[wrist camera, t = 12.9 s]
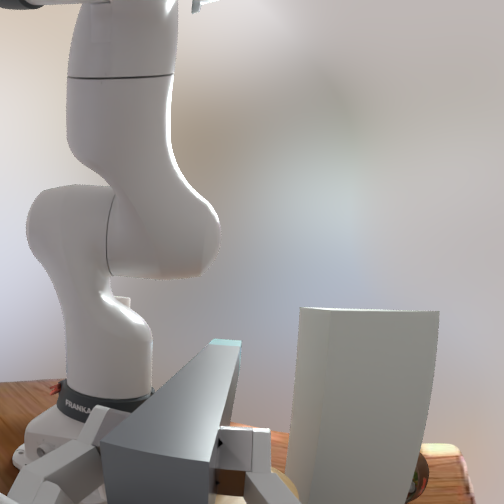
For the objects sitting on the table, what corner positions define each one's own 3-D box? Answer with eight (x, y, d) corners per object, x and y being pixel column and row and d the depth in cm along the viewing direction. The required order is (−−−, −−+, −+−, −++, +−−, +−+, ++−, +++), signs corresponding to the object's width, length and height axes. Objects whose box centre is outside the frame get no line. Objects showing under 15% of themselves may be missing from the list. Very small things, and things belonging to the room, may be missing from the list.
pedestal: (296, 558, 20) (330, 310, 24) (283, 486, 36) (299, 307, 40) (388, 545, 20) (439, 311, 24) (351, 482, 36) (374, 309, 40)
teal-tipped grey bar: (110, 518, 5) (99, 440, 6) (212, 365, 28) (214, 338, 28) (208, 538, 5) (209, 461, 6) (240, 367, 28) (241, 340, 28)
